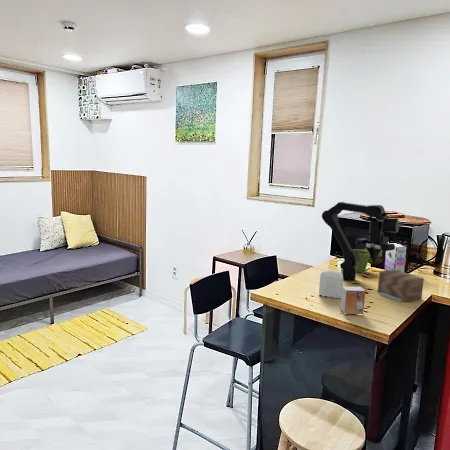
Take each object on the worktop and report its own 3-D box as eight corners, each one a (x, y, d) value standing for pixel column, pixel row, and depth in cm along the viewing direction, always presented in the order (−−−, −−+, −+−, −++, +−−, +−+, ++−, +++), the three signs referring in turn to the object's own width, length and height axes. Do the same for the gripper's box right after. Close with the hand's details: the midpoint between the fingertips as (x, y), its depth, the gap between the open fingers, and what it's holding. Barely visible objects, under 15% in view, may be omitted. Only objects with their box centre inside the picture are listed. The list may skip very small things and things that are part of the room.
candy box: (404, 276, 212) (407, 247, 209) (393, 276, 212) (396, 246, 209) (394, 269, 225) (396, 241, 223) (383, 269, 225) (386, 241, 223)
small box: (343, 315, 156) (345, 290, 155) (339, 310, 162) (341, 285, 160) (363, 315, 156) (365, 290, 155) (359, 310, 162) (360, 286, 160)
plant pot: (366, 275, 213) (368, 255, 211) (345, 271, 219) (346, 252, 217) (372, 270, 223) (373, 251, 221) (351, 266, 229) (352, 248, 227)
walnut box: (377, 291, 186) (379, 271, 185) (392, 289, 191) (394, 269, 189) (406, 302, 172) (408, 281, 171) (421, 299, 177) (423, 278, 175)
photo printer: (342, 296, 178) (343, 270, 176) (341, 299, 174) (343, 272, 172) (319, 293, 181) (320, 268, 179) (318, 296, 177) (320, 270, 175)
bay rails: (380, 295, 180) (380, 293, 180) (400, 289, 189) (400, 287, 189) (399, 302, 172) (400, 299, 172) (419, 295, 181) (420, 293, 181)
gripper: (402, 231, 189) (400, 262, 192) (370, 226, 205) (368, 255, 207) (388, 233, 183) (386, 265, 186) (356, 228, 199) (354, 258, 201)
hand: (373, 261), depth 195 cm, fingers closed
